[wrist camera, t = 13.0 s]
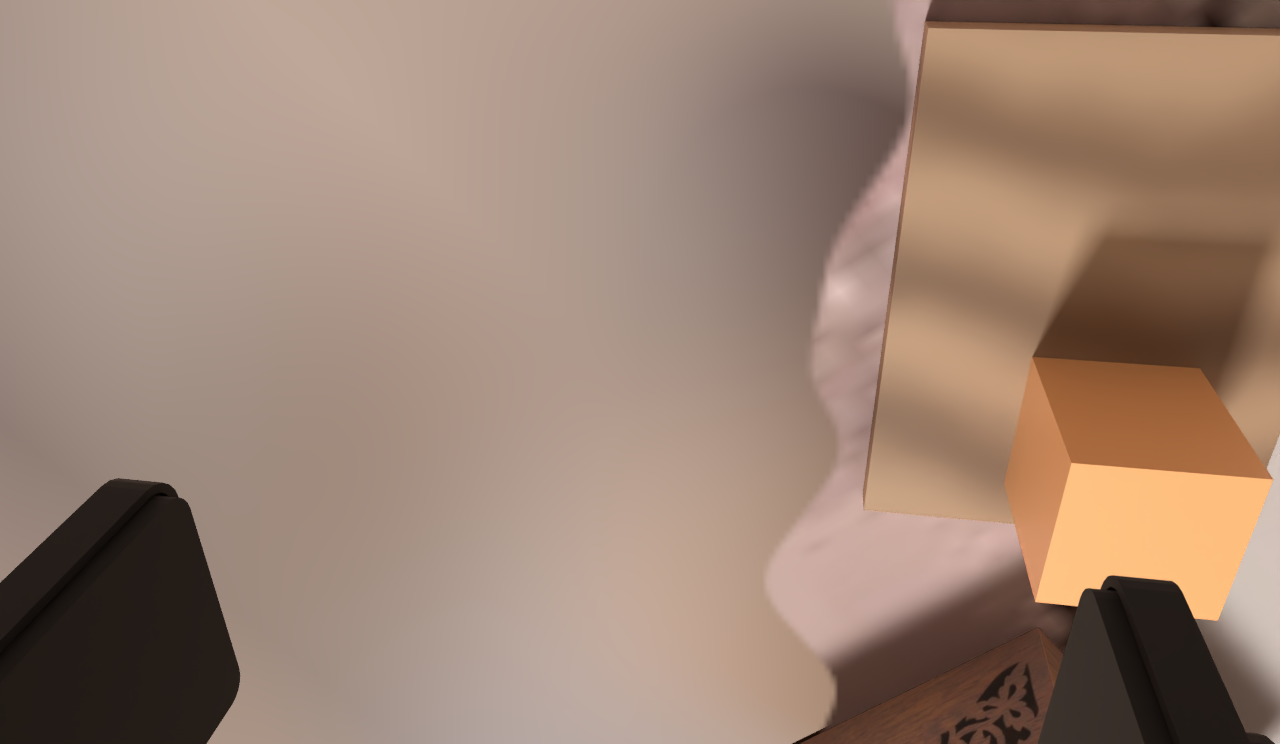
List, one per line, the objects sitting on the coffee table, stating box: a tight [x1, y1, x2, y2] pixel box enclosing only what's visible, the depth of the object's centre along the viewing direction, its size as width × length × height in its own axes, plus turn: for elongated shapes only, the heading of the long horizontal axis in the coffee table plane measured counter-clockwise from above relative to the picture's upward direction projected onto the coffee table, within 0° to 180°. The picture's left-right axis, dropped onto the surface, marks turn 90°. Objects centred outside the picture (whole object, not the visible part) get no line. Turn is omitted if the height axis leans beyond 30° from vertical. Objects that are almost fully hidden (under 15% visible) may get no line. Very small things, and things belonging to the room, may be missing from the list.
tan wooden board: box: [863, 21, 1280, 524], centre depth 37 cm, size 20×15×1 cm
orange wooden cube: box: [1004, 357, 1273, 621], centre depth 35 cm, size 6×6×7 cm
